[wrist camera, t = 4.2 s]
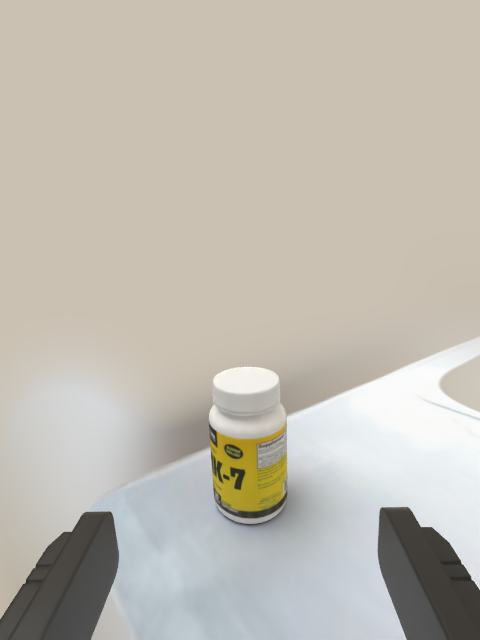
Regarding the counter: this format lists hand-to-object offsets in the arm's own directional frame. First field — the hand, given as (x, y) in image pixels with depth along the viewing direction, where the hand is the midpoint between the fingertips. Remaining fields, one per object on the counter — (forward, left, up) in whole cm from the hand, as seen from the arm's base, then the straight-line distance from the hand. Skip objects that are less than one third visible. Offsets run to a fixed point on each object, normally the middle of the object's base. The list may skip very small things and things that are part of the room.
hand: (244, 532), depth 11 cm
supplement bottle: (+5, +10, -8) cm, 14 cm away
